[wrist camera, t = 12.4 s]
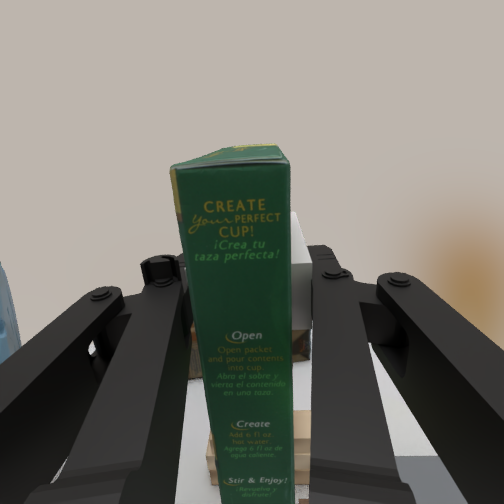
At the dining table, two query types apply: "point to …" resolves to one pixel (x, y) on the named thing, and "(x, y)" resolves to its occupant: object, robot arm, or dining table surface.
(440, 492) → the stand pad
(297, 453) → the offcut stack
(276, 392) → the coffee box
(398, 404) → the dining table surface
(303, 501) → the walnut rack
